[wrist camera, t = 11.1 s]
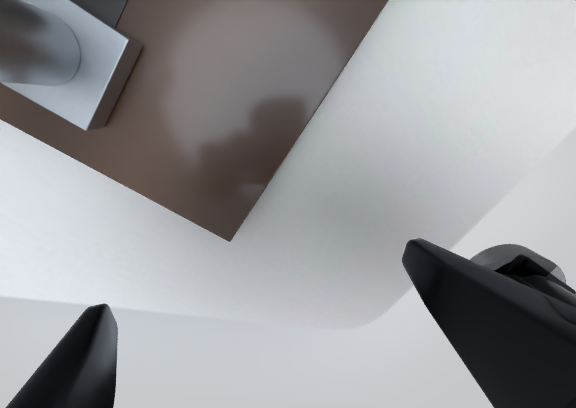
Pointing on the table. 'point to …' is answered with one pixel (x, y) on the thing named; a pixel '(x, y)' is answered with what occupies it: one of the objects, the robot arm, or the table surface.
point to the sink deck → (208, 98)
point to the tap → (64, 58)
